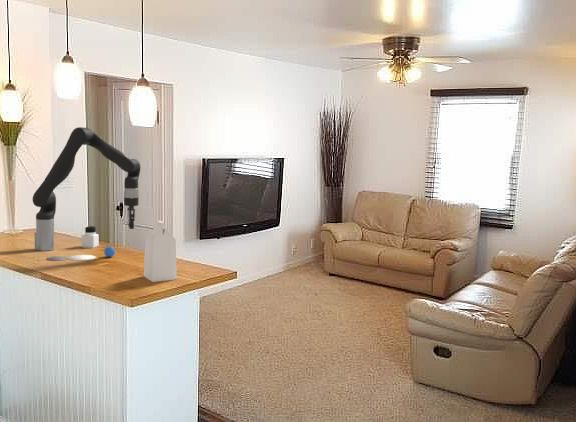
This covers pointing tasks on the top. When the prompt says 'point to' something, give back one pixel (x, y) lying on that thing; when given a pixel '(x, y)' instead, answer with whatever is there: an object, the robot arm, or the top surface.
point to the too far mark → (56, 258)
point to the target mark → (81, 257)
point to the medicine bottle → (90, 238)
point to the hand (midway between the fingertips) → (131, 227)
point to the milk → (160, 255)
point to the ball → (109, 251)
